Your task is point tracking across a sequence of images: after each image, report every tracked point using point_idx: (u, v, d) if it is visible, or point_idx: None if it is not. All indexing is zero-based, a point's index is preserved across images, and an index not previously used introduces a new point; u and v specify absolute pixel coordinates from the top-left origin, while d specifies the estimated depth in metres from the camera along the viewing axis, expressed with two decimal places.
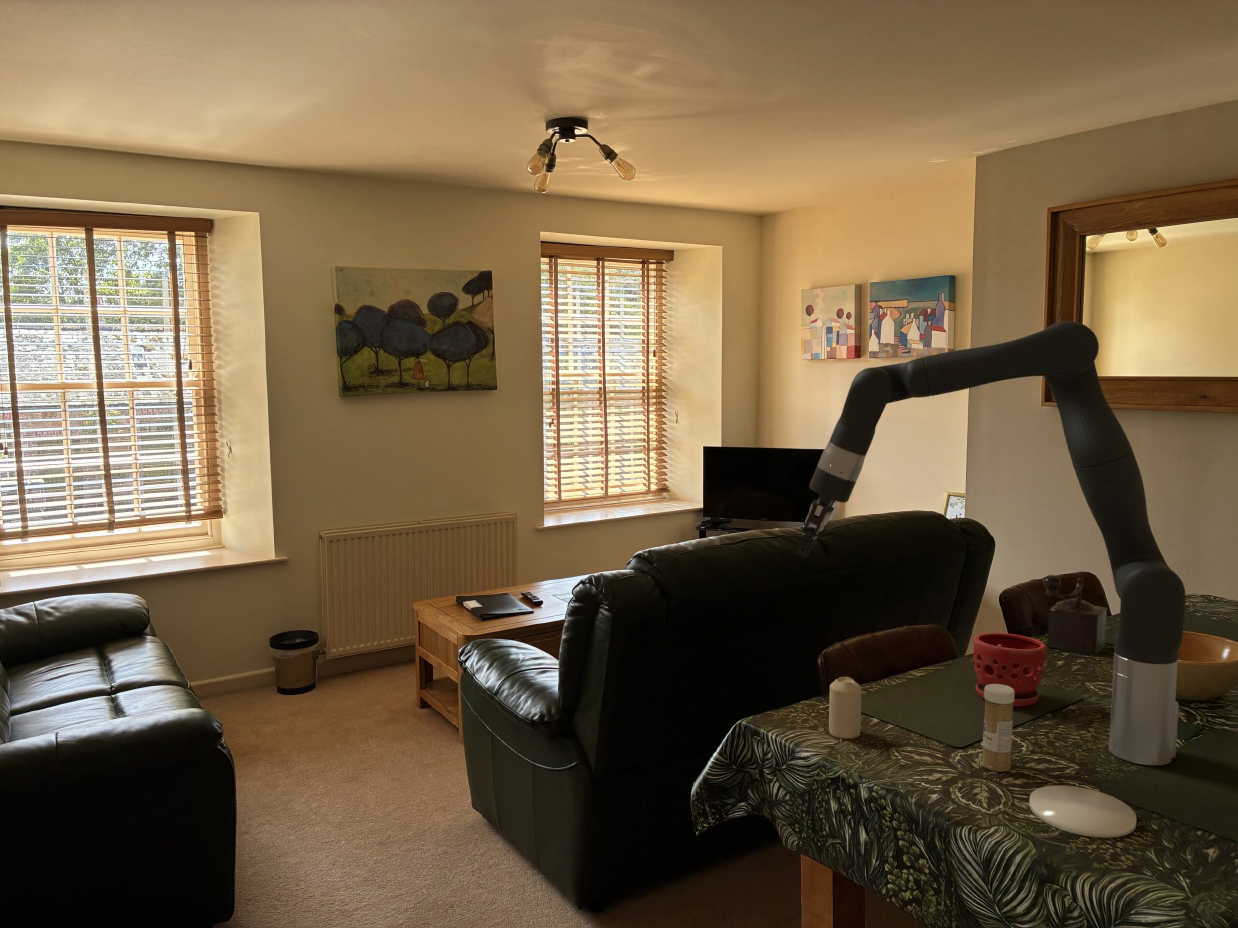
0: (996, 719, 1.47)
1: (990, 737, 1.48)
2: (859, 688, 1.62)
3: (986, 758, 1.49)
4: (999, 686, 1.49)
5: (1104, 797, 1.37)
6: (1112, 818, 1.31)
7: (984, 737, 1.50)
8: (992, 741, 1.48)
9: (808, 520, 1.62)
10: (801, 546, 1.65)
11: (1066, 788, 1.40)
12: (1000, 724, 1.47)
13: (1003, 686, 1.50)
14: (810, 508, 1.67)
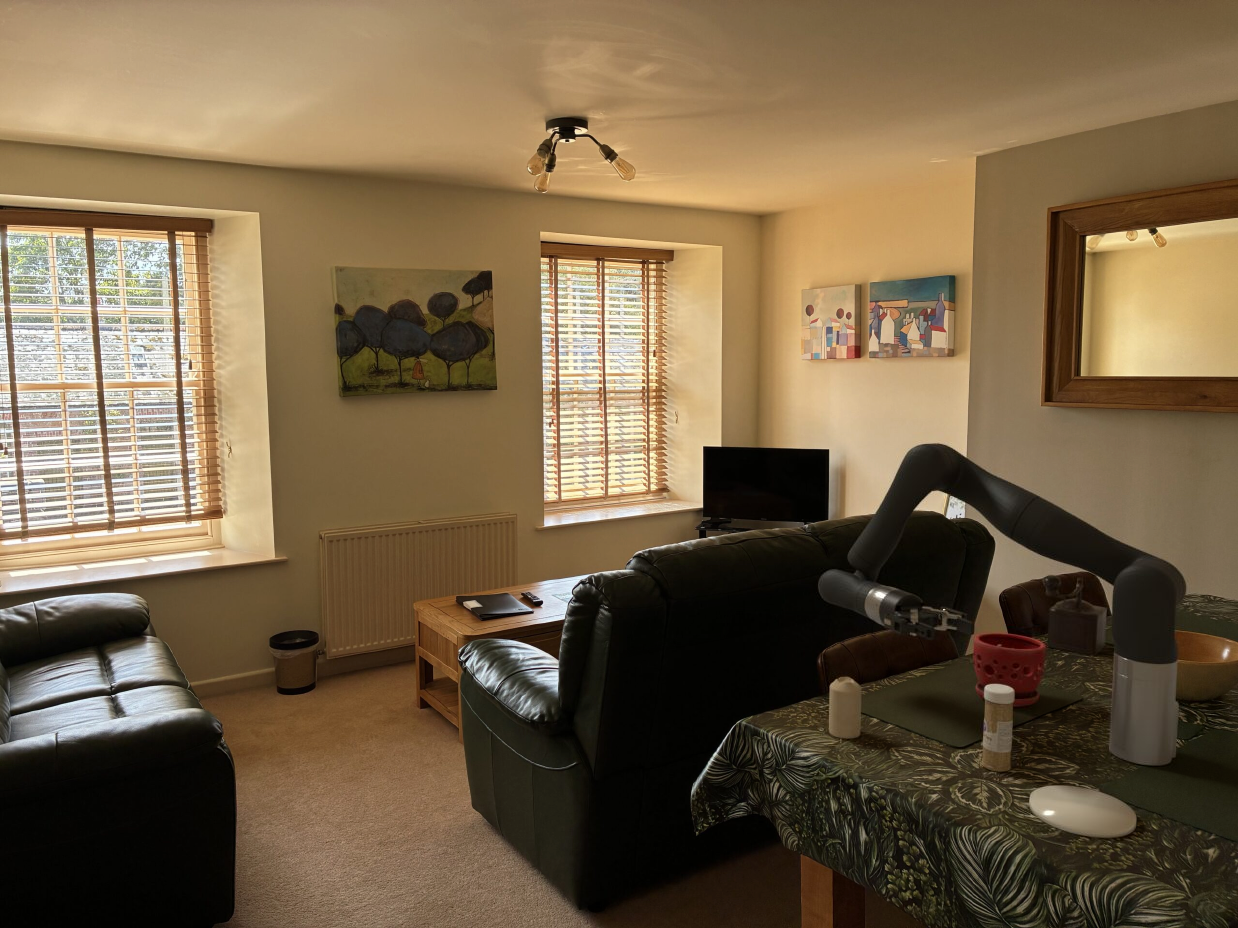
0: (996, 719, 1.47)
1: (990, 737, 1.48)
2: (859, 688, 1.62)
3: (986, 758, 1.49)
4: (999, 686, 1.49)
5: (1104, 797, 1.37)
6: (1112, 818, 1.31)
7: (984, 737, 1.50)
8: (992, 741, 1.48)
9: (893, 630, 1.63)
10: (920, 634, 1.58)
11: (1066, 788, 1.40)
12: (1000, 724, 1.47)
13: (1003, 686, 1.49)
14: None
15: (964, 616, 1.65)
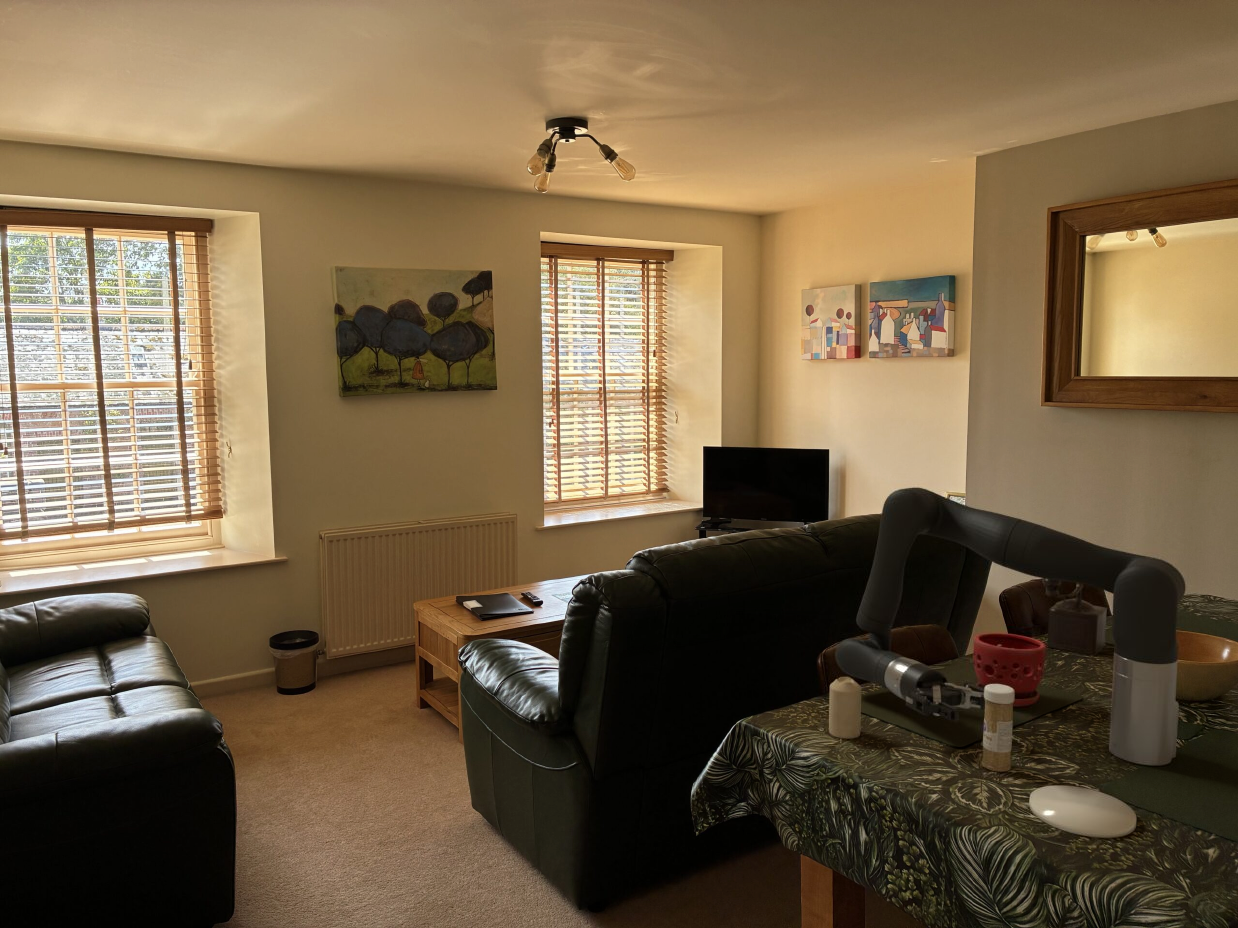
0: (996, 719, 1.47)
1: (990, 737, 1.48)
2: (859, 688, 1.62)
3: (986, 758, 1.49)
4: (999, 686, 1.49)
5: (1104, 797, 1.37)
6: (1112, 818, 1.31)
7: (984, 737, 1.50)
8: (992, 741, 1.48)
9: (915, 709, 1.58)
10: (944, 715, 1.54)
11: (1066, 788, 1.40)
12: (1000, 724, 1.47)
13: (1003, 686, 1.50)
14: None
15: None
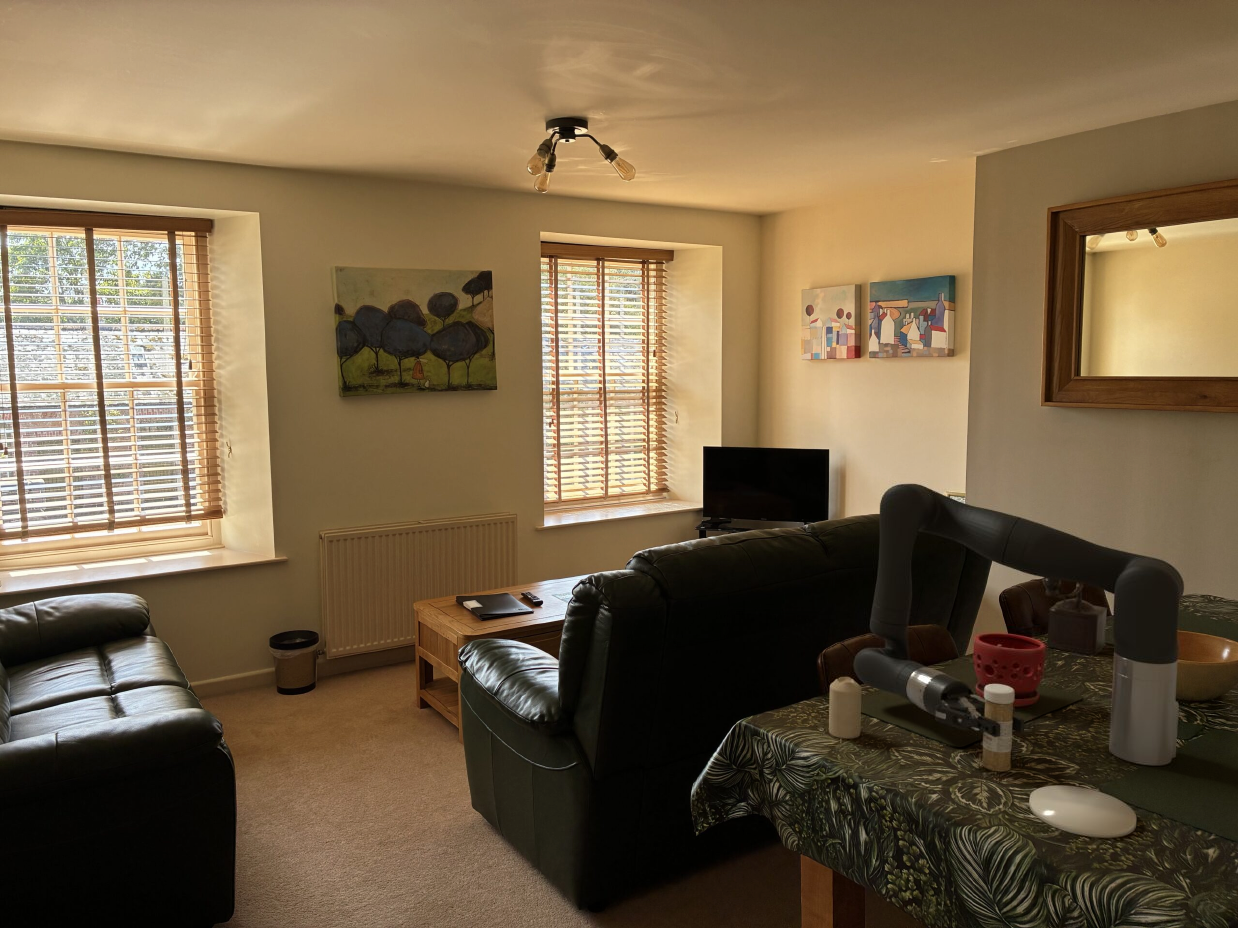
0: (996, 719, 1.47)
1: (990, 737, 1.48)
2: (859, 688, 1.62)
3: (986, 758, 1.49)
4: (999, 686, 1.49)
5: (1104, 797, 1.37)
6: (1112, 818, 1.31)
7: (984, 737, 1.50)
8: (992, 741, 1.48)
9: (951, 724, 1.51)
10: (985, 730, 1.47)
11: (1066, 788, 1.40)
12: (1000, 724, 1.47)
13: (1003, 686, 1.49)
14: None
15: None
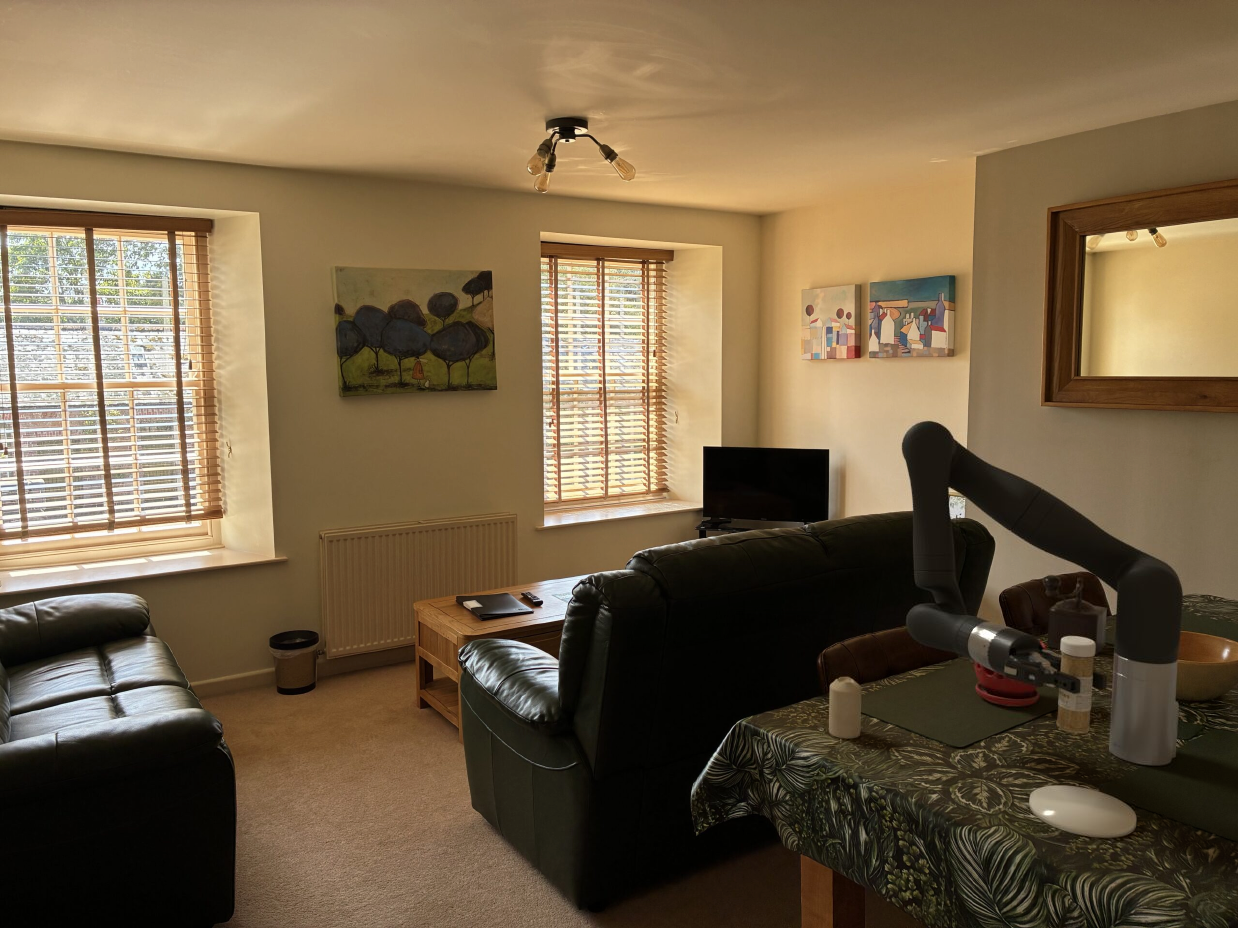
0: (1075, 675, 1.32)
1: (1068, 694, 1.33)
2: (859, 688, 1.62)
3: (1062, 718, 1.34)
4: (1077, 638, 1.34)
5: (1104, 797, 1.37)
6: (1112, 818, 1.31)
7: (1060, 695, 1.34)
8: (1070, 699, 1.33)
9: (1023, 680, 1.36)
10: (1062, 686, 1.32)
11: (1066, 788, 1.40)
12: (1080, 680, 1.32)
13: (1082, 638, 1.34)
14: (1032, 678, 1.39)
15: None
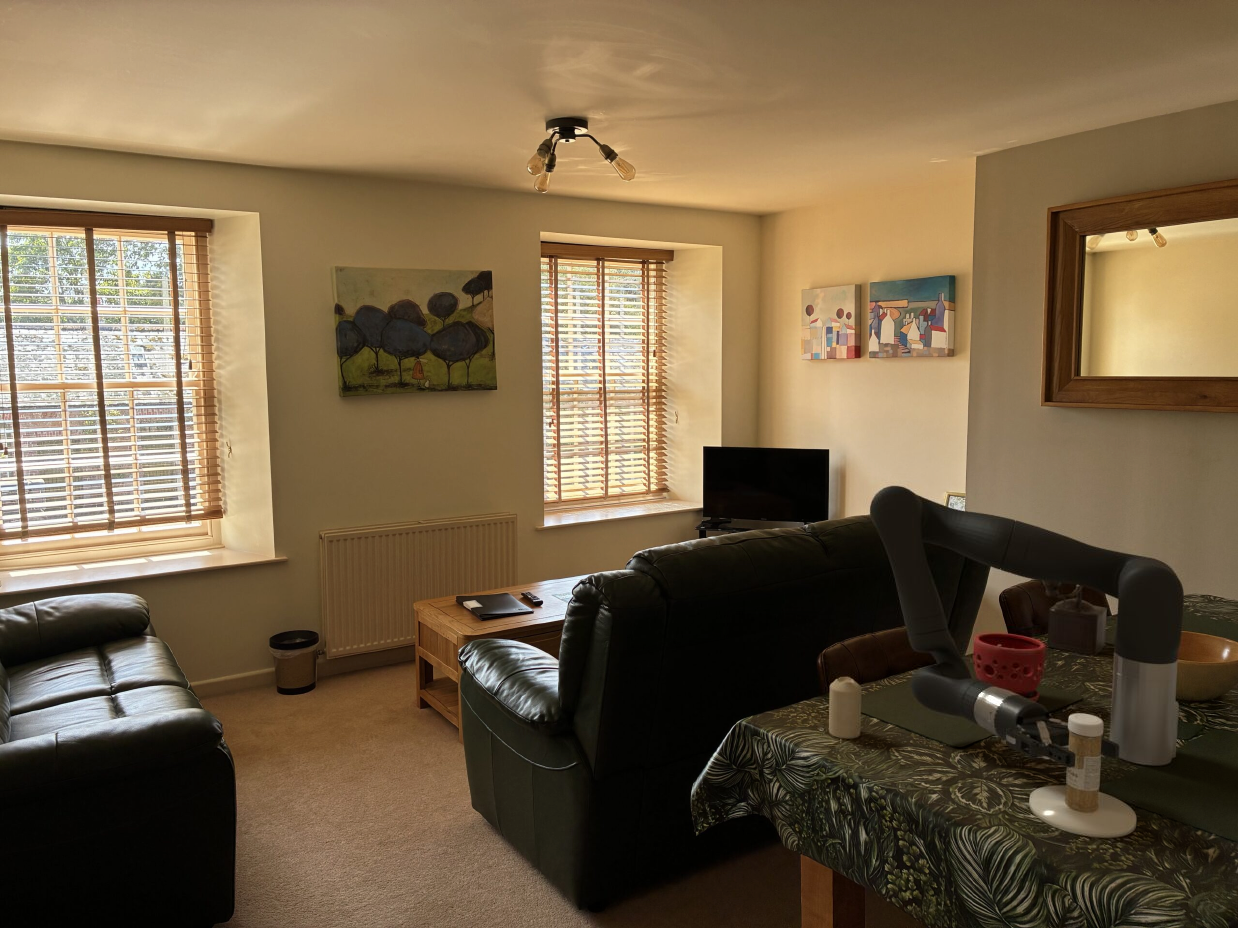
0: (1083, 754, 1.32)
1: (1076, 773, 1.32)
2: (859, 688, 1.62)
3: (1071, 796, 1.34)
4: (1085, 716, 1.34)
5: (1104, 797, 1.37)
6: (1112, 818, 1.31)
7: (1068, 773, 1.34)
8: (1078, 778, 1.32)
9: (1020, 750, 1.36)
10: (1057, 759, 1.31)
11: None
12: (1088, 760, 1.32)
13: (1090, 716, 1.34)
14: None
15: None
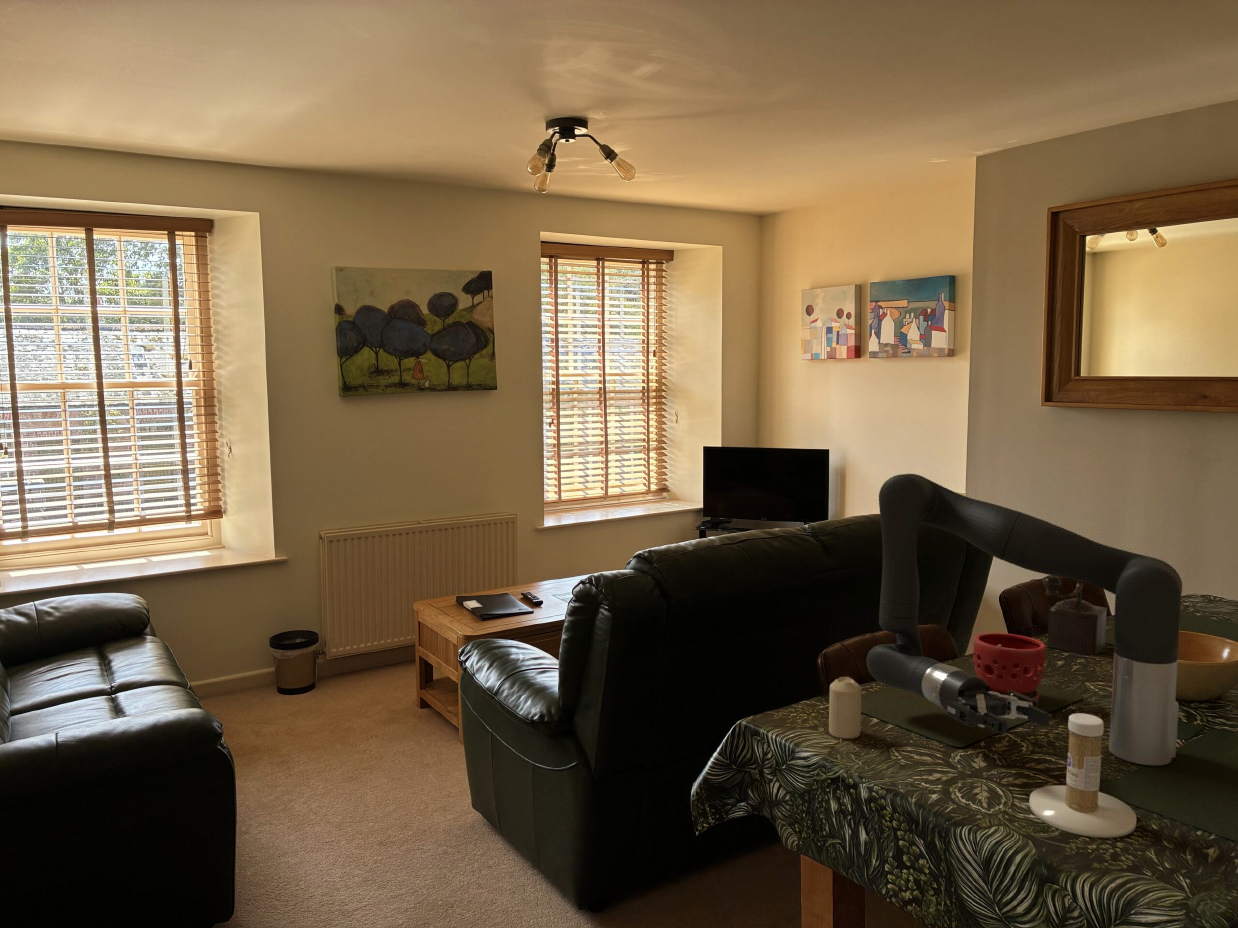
0: (1083, 754, 1.32)
1: (1076, 773, 1.32)
2: (859, 688, 1.62)
3: (1071, 796, 1.34)
4: (1085, 716, 1.34)
5: (1104, 797, 1.37)
6: (1112, 818, 1.31)
7: (1068, 773, 1.34)
8: (1078, 778, 1.32)
9: (959, 720, 1.48)
10: (991, 727, 1.44)
11: None
12: (1088, 760, 1.32)
13: (1090, 716, 1.34)
14: None
15: (1035, 703, 1.50)
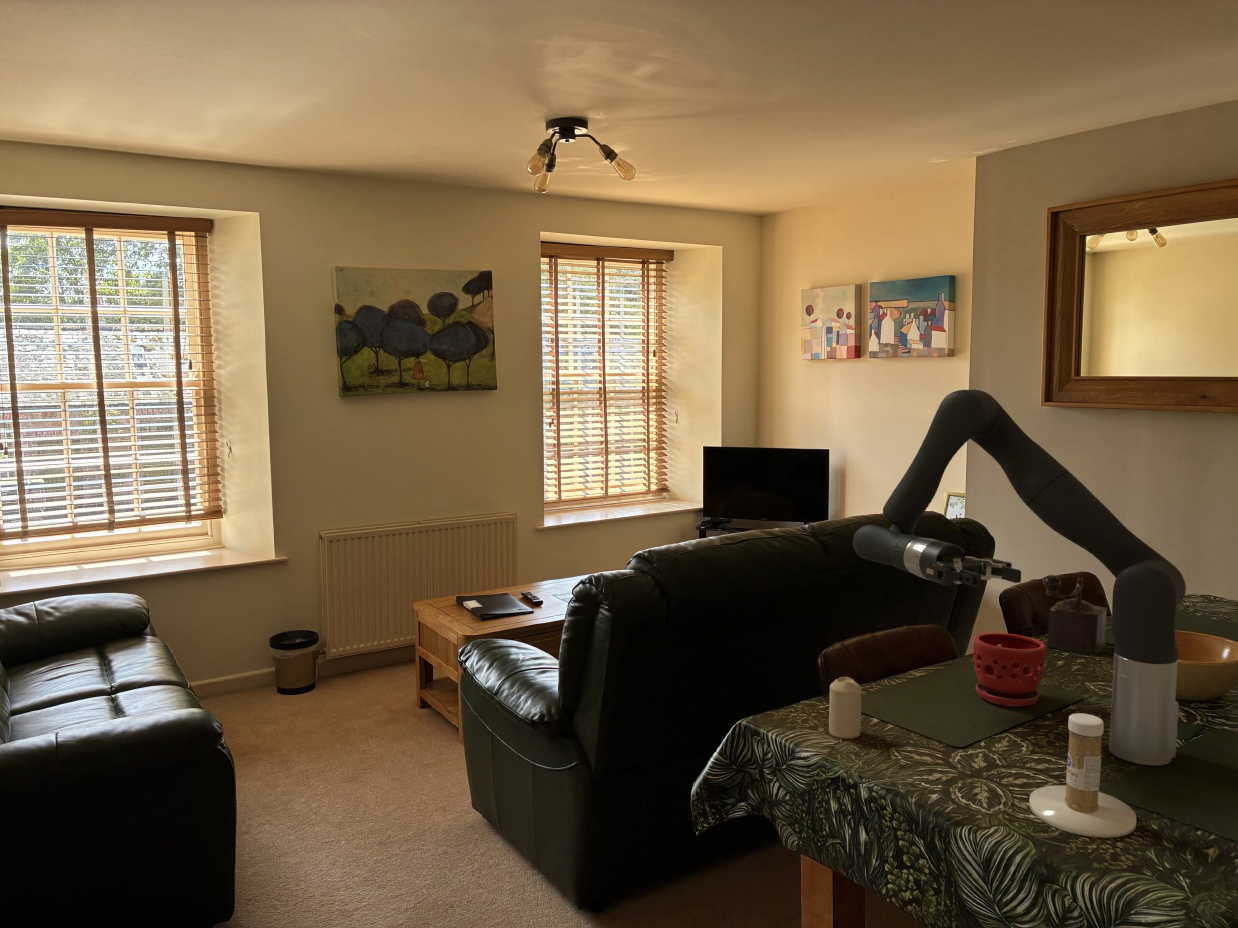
0: (1083, 754, 1.32)
1: (1076, 773, 1.32)
2: (859, 688, 1.62)
3: (1071, 796, 1.34)
4: (1085, 716, 1.34)
5: (1104, 797, 1.37)
6: (1112, 818, 1.31)
7: (1068, 773, 1.34)
8: (1078, 778, 1.32)
9: (936, 579, 1.58)
10: (966, 581, 1.53)
11: None
12: (1088, 760, 1.32)
13: (1090, 716, 1.34)
14: None
15: (1009, 565, 1.60)
